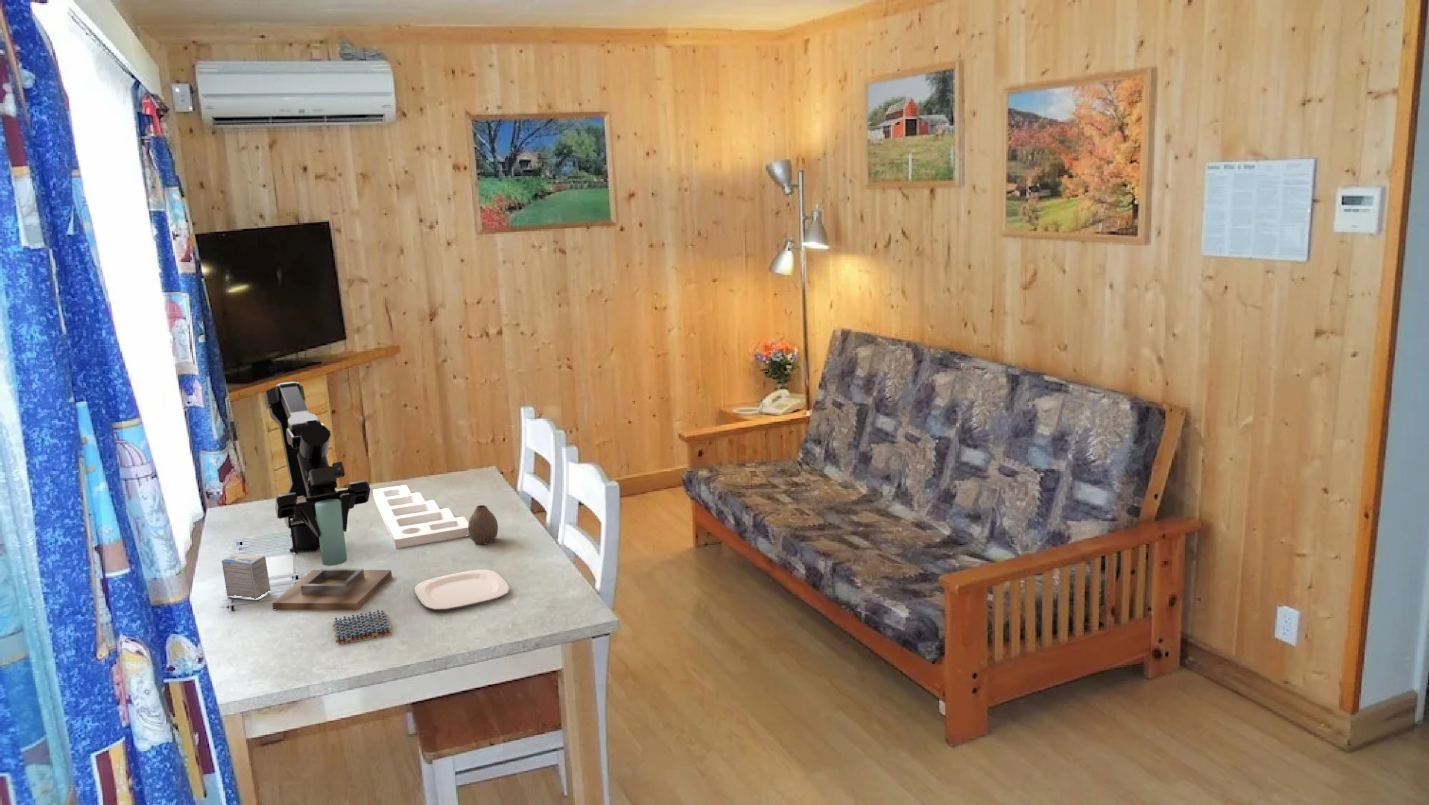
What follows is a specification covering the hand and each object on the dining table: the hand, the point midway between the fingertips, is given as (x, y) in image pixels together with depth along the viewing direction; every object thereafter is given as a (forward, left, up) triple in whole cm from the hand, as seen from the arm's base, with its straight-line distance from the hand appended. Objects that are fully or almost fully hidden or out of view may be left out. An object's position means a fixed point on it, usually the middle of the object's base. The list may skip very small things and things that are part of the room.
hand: (332, 533), depth 220 cm
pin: (-1, +1, -7) cm, 7 cm away
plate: (+27, +1, -14) cm, 30 cm away
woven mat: (+13, -17, -14) cm, 26 cm away
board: (-1, +1, -13) cm, 14 cm away
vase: (+22, +32, -14) cm, 41 cm away
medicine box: (-19, -1, -14) cm, 24 cm away
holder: (-2, +51, -14) cm, 53 cm away
